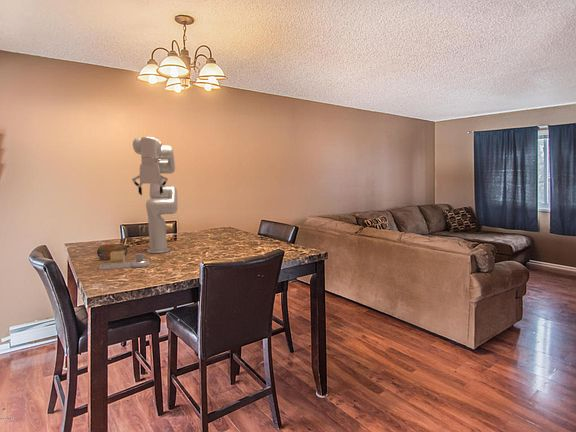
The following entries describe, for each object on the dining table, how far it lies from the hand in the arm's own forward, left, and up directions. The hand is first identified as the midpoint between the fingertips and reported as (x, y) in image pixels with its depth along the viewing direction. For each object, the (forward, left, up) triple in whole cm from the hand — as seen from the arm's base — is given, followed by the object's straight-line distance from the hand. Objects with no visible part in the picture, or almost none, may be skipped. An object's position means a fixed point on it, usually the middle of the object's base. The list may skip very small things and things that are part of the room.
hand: (151, 194), depth 188 cm
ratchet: (+8, -13, -35) cm, 39 cm away
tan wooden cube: (0, -18, -35) cm, 39 cm away
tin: (-12, -22, -36) cm, 43 cm away
